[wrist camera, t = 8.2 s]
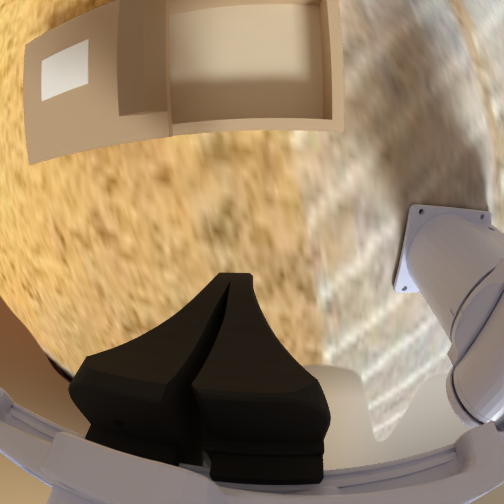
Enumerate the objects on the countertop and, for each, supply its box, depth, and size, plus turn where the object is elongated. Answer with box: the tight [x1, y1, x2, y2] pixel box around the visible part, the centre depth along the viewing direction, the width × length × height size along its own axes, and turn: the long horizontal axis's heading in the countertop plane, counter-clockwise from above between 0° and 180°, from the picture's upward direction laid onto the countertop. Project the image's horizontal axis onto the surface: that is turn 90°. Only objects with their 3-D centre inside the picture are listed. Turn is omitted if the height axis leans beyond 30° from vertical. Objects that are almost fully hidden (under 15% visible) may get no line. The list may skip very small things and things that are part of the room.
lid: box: [23, 0, 173, 165], centre depth 12 cm, size 12×10×4 cm
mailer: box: [169, 0, 344, 136], centre depth 14 cm, size 12×10×4 cm
